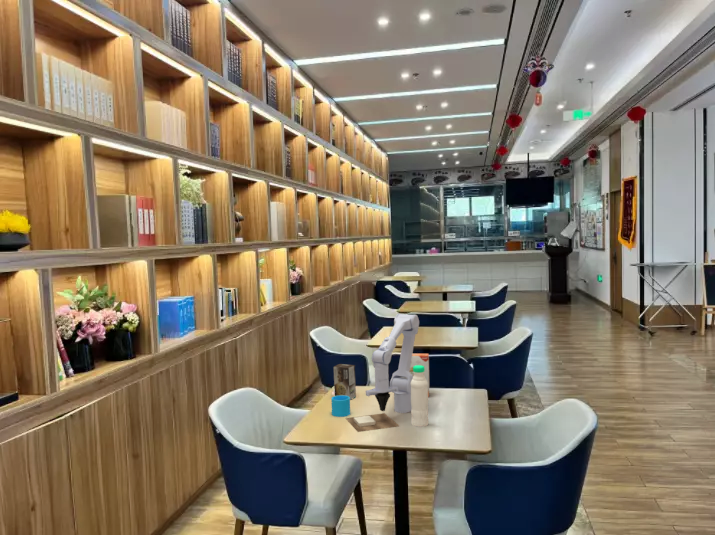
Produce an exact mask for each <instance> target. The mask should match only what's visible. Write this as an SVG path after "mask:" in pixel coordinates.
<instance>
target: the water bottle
mask: <svg viewBox="0 0 715 535" xmlns="http://www.w3.org/2000/svg"><path fill="white" fill-rule="evenodd" d="M424 371H425V368H424V366H422V365H416V366H414V367H413V372H414V376H413V379H412V381H411V407H412V409H411V413H410V415H411V425H412V426H414V427H426V426H428V425H429V422H430V421H429V409H428V408H429V407H428V406H429V397H428V389H427V386H428V383H427V380H426V378H425V376H424Z"/></svg>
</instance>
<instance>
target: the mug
mask: <svg viewBox="0 0 715 535" xmlns="http://www.w3.org/2000/svg"><path fill="white" fill-rule="evenodd" d="M330 399H331V415H332V416H333V417H335V418H336V417H337V418H342V417H348V416H350V415H351V400H350V397H349V396H344V395H340V396H335V395H334V396H332V397H331V398H330Z"/></svg>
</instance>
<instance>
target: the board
mask: <svg viewBox="0 0 715 535" xmlns="http://www.w3.org/2000/svg"><path fill="white" fill-rule="evenodd" d="M362 416H363V415H361V416H360V415H359V416H358V417H362ZM366 416H370V417H371V418H372V419H373V420H374V421H375V425H369V426H362V427H359V426H358V425H357V424H356V423H355V422H354V417H355V416H353V417H346V418H345V420H346V421H347V422H348V423H349V424H350V425H351V426H352V427H353V429H354V430H355V431H356V432H357V433H360V432H367V431H369V432H370V431H375V430H383V429H389V428H390V429H391V428H398V427H400V425H399V424H398V423H397V422H395V421H394V420H393V419H392V418H391V416H388V415H387V414H386V413H385V412H383V413H376V414H368V415H366Z"/></svg>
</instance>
